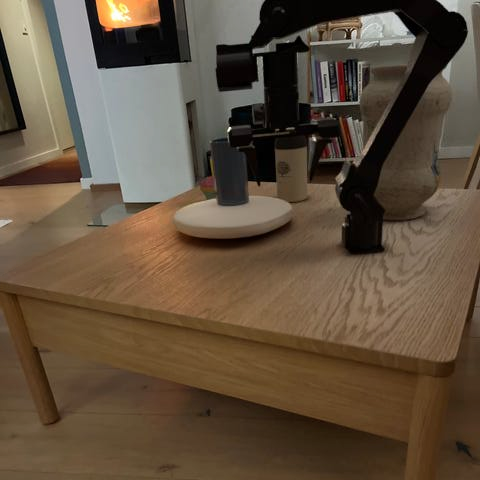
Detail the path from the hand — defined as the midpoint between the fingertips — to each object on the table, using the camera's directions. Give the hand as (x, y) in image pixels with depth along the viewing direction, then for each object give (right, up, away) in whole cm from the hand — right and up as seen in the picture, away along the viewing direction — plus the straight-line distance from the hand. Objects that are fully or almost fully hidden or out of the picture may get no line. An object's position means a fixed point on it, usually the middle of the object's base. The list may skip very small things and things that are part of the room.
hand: (284, 183), depth 85 cm
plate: (-9, -4, +23) cm, 25 cm away
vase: (+28, 0, +23) cm, 36 cm away
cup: (-10, +2, +20) cm, 22 cm away
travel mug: (+6, +8, +42) cm, 43 cm away
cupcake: (-14, +8, +46) cm, 48 cm away
